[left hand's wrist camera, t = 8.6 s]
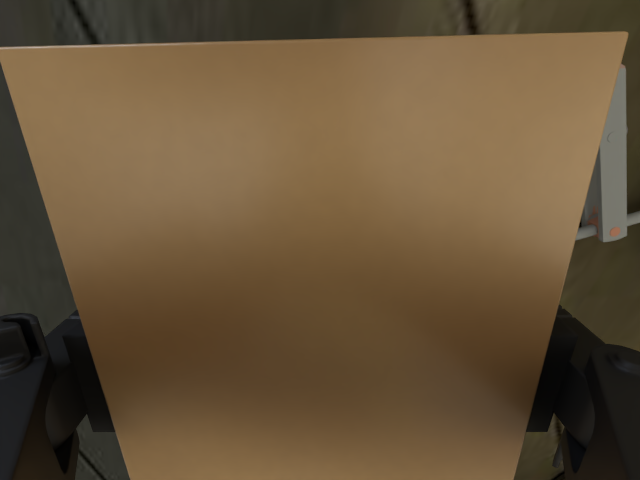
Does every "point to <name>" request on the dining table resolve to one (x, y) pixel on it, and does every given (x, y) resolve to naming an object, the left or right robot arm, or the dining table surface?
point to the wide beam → (318, 241)
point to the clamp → (610, 176)
